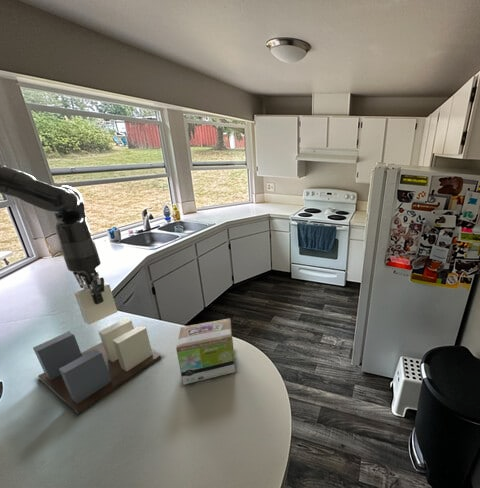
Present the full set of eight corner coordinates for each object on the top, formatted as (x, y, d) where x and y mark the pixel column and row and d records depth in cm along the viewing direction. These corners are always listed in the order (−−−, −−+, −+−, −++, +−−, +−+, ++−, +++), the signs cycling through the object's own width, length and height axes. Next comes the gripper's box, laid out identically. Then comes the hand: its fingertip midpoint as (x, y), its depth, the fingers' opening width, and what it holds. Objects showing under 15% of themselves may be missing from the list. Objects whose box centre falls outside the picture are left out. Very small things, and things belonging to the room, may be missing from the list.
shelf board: (78, 414, 66) (77, 411, 66) (39, 378, 76) (37, 375, 75) (161, 358, 85) (160, 355, 84) (121, 335, 94) (120, 332, 94)
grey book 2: (77, 404, 68) (64, 373, 64) (71, 399, 69) (58, 368, 65) (111, 381, 74) (101, 352, 71) (106, 377, 76) (96, 348, 72)
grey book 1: (50, 380, 74) (37, 351, 70) (46, 376, 75) (32, 347, 71) (84, 361, 81) (73, 334, 77) (79, 358, 82) (69, 331, 78)
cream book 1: (89, 324, 80) (78, 295, 76) (84, 322, 81) (73, 292, 78) (117, 311, 87) (109, 284, 83) (112, 309, 88) (104, 281, 84)
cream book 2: (112, 362, 81) (103, 334, 77) (107, 358, 82) (98, 331, 78) (138, 346, 88) (131, 320, 84) (133, 343, 89) (126, 317, 85)
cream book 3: (126, 371, 78) (117, 343, 74) (121, 368, 79) (112, 340, 75) (152, 354, 84) (146, 328, 81) (147, 351, 86) (140, 325, 82)
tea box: (183, 387, 75) (174, 348, 70) (186, 362, 83) (179, 325, 78) (235, 373, 80) (231, 335, 75) (234, 351, 89) (230, 316, 84)
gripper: (53, 252, 76) (71, 301, 82) (76, 262, 70) (93, 313, 76) (84, 245, 82) (99, 290, 88) (107, 253, 76) (121, 301, 82)
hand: (96, 301), depth 82 cm, fingers closed on cream book 1, 3 cm apart
